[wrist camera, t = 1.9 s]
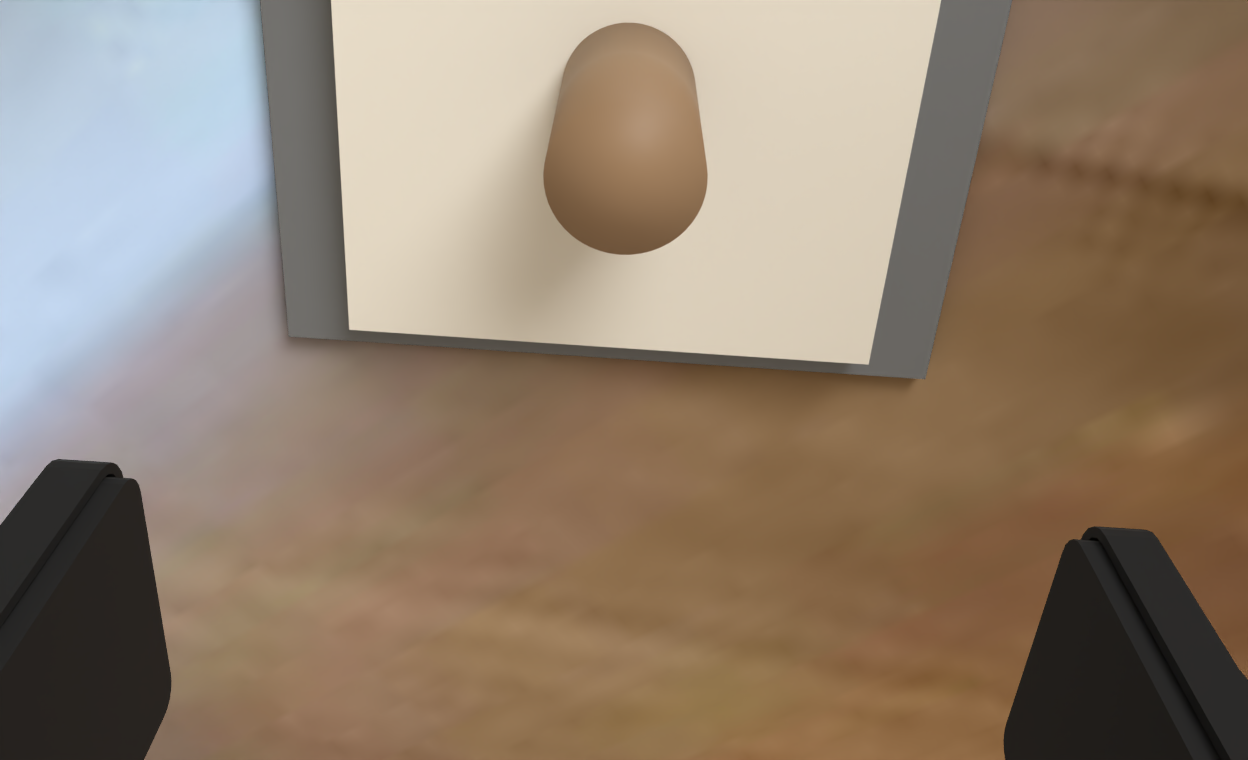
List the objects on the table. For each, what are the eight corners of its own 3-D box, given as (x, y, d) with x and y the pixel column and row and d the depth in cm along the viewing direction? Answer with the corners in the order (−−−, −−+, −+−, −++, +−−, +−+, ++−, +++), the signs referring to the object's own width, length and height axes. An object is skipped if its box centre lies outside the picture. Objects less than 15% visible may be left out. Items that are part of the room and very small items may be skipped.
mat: (1064, -263, 26) (1072, -262, 25) (921, 368, 34) (925, 379, 33) (240, -329, 25) (232, -329, 25) (294, 326, 33) (288, 336, 33)
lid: (969, -218, 26) (1074, -191, 19) (861, 343, 33) (912, 494, 26) (329, -268, 25) (227, -257, 19) (358, 309, 32) (290, 454, 26)
